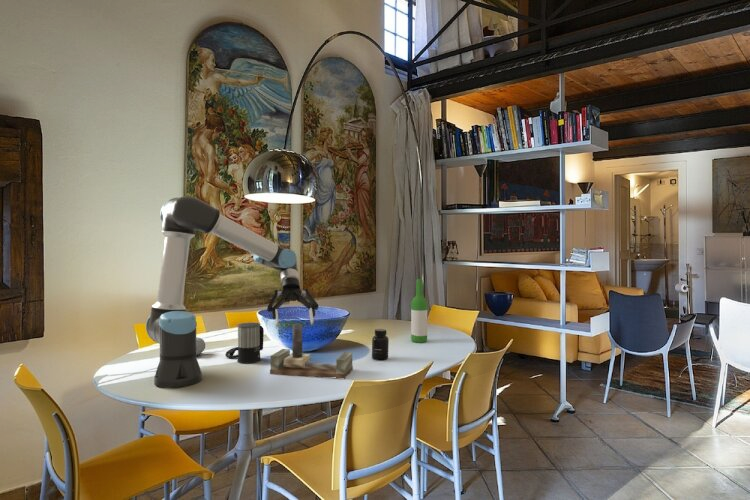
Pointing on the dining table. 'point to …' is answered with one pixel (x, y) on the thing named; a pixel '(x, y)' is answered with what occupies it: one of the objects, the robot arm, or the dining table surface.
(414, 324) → the wine bottle
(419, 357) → the dining table surface
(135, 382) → the dining table surface
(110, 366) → the dining table surface
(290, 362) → the carriage
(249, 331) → the milk frother
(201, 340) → the ceramic mug
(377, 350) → the supplement bottle
